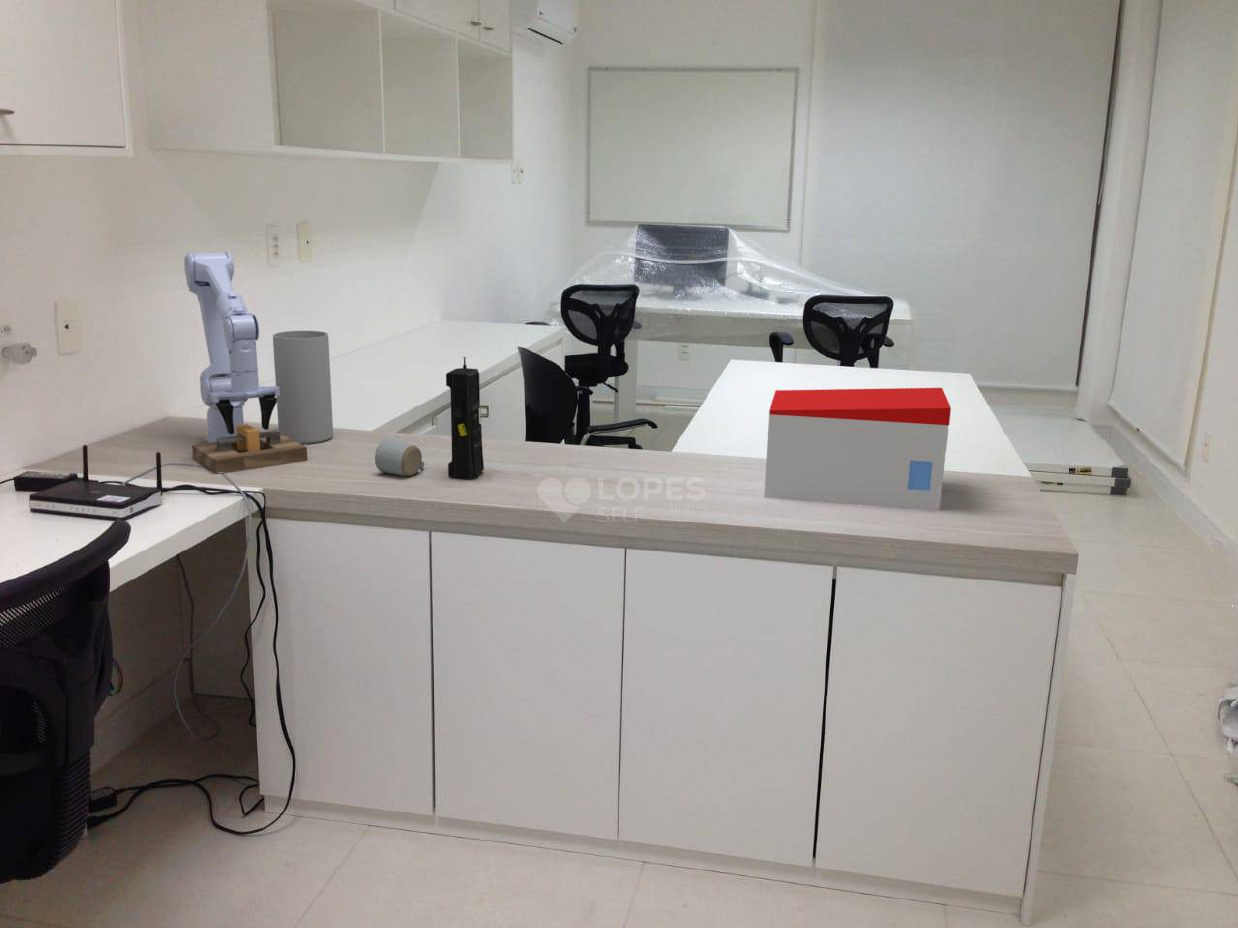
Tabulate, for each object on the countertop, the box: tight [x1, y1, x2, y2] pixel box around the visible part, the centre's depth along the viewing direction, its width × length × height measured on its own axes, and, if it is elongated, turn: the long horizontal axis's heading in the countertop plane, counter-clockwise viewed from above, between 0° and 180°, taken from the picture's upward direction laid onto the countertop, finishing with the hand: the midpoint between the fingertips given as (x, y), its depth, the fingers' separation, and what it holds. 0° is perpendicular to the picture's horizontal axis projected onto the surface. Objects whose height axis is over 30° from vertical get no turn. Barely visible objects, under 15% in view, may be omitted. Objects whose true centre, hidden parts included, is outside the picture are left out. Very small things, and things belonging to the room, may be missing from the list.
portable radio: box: [445, 356, 485, 481], centre depth 231 cm, size 8×6×25 cm
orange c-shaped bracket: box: [236, 423, 260, 452], centre depth 243 cm, size 7×2×6 cm, turn 37°
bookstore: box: [764, 387, 952, 511], centre depth 228 cm, size 21×35×21 cm, turn 79°
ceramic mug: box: [374, 437, 425, 477], centre depth 235 cm, size 10×8×7 cm
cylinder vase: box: [272, 330, 334, 445], centre depth 260 cm, size 12×12×25 cm
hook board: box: [191, 430, 309, 475], centre depth 243 cm, size 16×20×6 cm
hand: (248, 431), depth 242 cm, fingers open, 7 cm apart
